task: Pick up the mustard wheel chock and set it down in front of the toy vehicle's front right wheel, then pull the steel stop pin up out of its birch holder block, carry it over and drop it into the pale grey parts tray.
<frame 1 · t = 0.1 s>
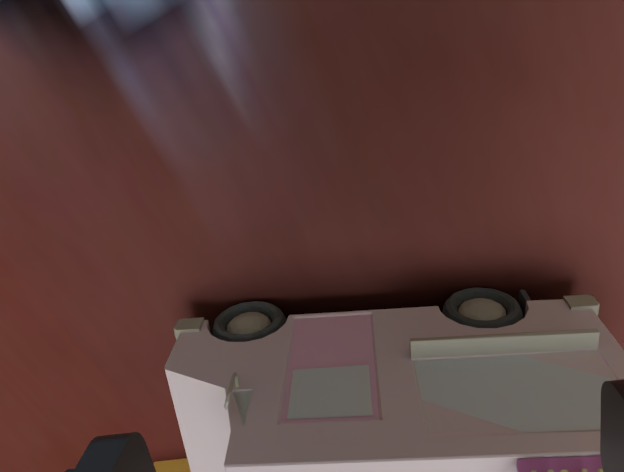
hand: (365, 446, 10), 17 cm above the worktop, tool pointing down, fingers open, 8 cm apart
toy vehicle: (379, 348, 30), on the worktop
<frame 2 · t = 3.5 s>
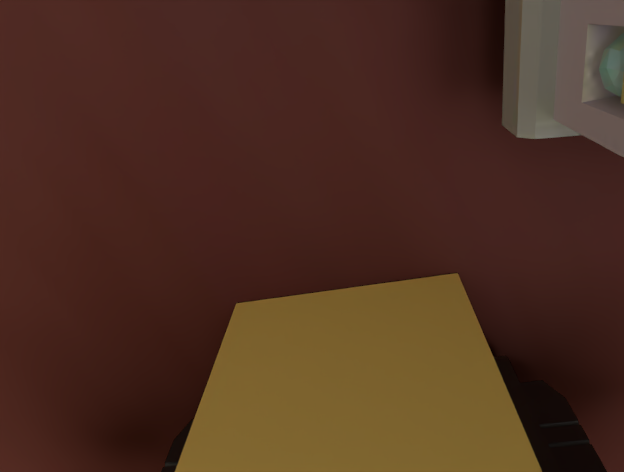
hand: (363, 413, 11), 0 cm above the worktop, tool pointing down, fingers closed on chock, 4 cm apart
chock: (364, 401, 11), on the worktop, touching gripper
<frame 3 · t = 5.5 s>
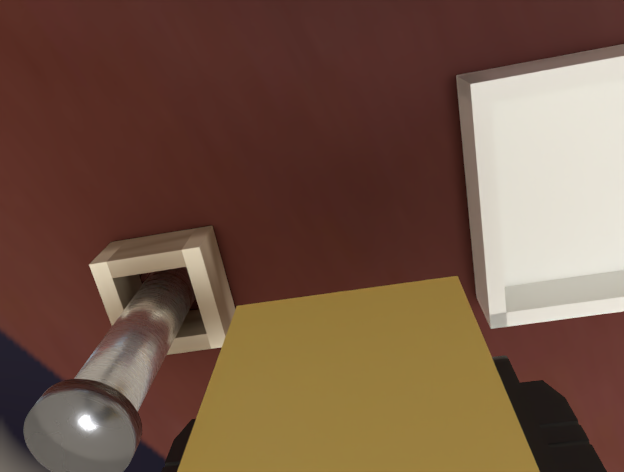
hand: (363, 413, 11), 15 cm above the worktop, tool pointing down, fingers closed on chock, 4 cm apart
tray: (565, 179, 24), on the worktop
pin: (138, 342, 22), in the holder
chock: (364, 403, 11), point 15 cm above the worktop, touching gripper
holder: (175, 280, 27), on the worktop
when the fingers open (2 cm above the worktop, at t = 8.0 s): chock drops 1 cm, on the worktop.
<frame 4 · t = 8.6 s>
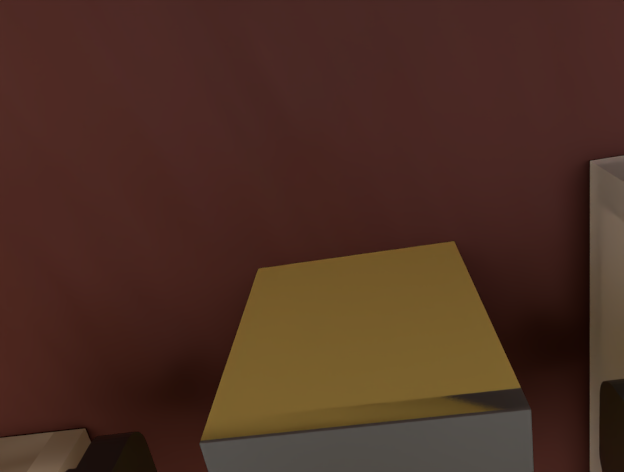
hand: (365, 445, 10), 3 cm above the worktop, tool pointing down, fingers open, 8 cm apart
chock: (371, 356, 12), on the worktop
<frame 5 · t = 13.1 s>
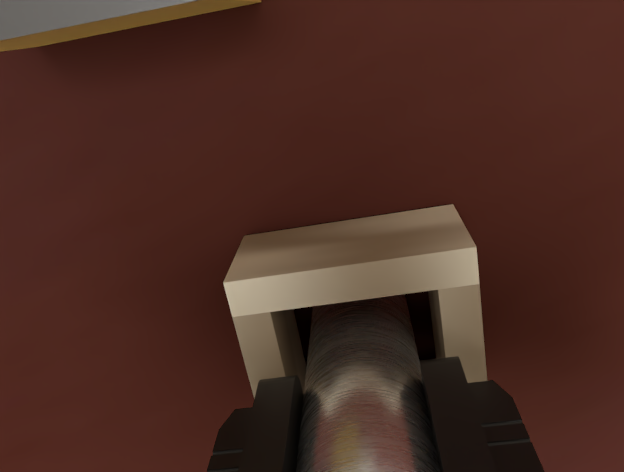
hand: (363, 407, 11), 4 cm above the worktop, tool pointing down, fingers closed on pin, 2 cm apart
holder: (361, 311, 14), on the worktop
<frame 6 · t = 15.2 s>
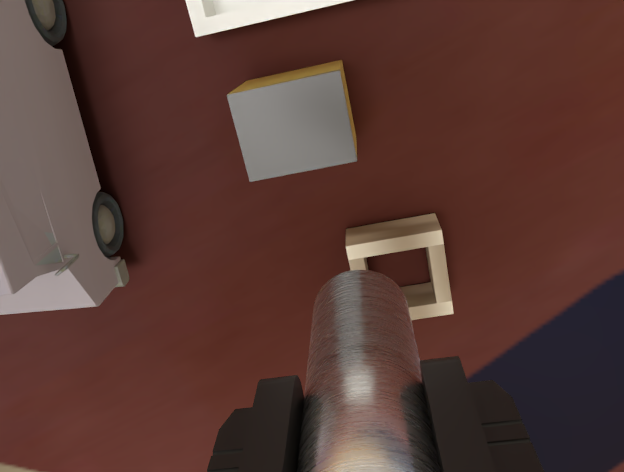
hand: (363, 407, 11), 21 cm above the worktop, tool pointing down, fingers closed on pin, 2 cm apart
chock: (302, 109, 29), on the worktop
toy vehicle: (30, 108, 30), on the worktop
holder: (397, 260, 32), on the worktop
when the fingers open (6 cm above the worktop, at t = 17.7 s): pin drops 2 cm, resting on tray.
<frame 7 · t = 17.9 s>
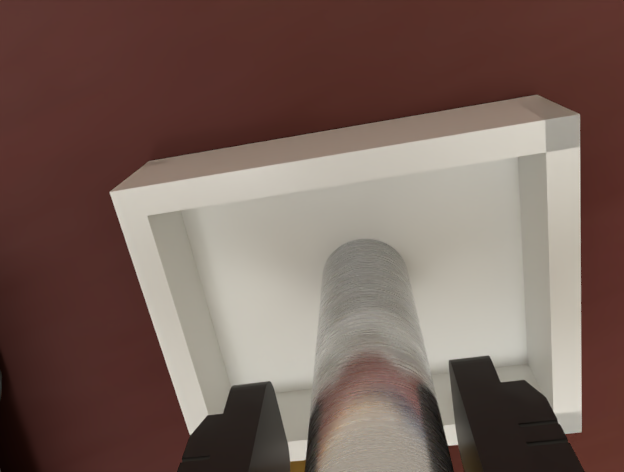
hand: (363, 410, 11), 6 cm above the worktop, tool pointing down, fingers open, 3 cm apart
tray: (358, 270, 16), on the worktop
pin: (373, 403, 11), in the tray, point 6 cm above the worktop, touching gripper
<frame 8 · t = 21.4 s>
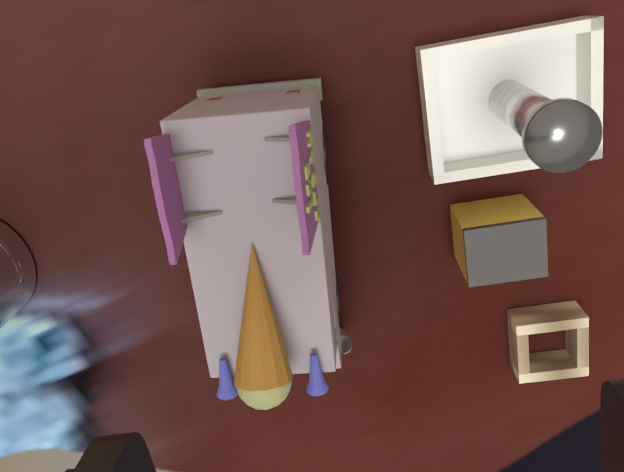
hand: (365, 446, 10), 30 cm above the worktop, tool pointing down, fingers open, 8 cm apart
tray: (501, 98, 37), on the worktop
pin: (531, 115, 31), in the tray, point 6 cm above the worktop
chock: (487, 225, 40), on the worktop
toy vehicle: (281, 216, 41), on the worktop
holder: (541, 333, 43), on the worktop
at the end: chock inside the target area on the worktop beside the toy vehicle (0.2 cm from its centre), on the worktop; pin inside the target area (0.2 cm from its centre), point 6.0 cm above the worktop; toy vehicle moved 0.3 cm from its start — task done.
